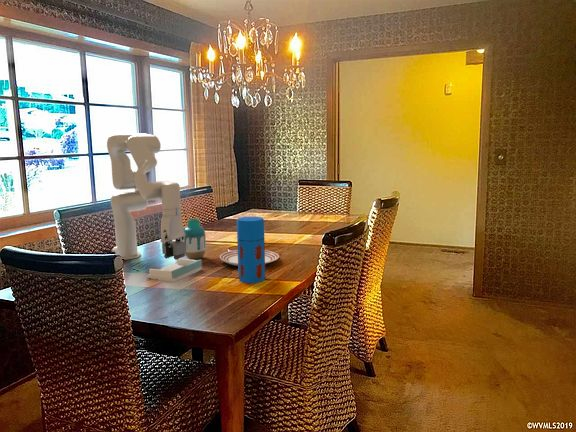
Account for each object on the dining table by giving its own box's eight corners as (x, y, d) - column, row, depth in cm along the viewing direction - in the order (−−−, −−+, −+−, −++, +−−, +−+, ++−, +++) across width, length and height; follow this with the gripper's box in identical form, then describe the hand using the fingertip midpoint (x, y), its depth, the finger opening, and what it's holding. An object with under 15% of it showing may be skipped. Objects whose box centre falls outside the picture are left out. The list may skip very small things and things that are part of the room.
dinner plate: (268, 252, 231) (268, 246, 230) (287, 266, 206) (287, 259, 205) (214, 258, 221) (213, 251, 221) (227, 273, 196) (227, 266, 195)
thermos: (265, 274, 192) (264, 216, 188) (265, 282, 182) (263, 220, 178) (239, 275, 192) (237, 216, 188) (237, 283, 182) (235, 221, 177)
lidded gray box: (162, 258, 193) (161, 237, 192) (171, 255, 198) (170, 234, 197) (178, 260, 190) (176, 238, 189) (186, 256, 195) (185, 236, 194)
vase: (184, 262, 214) (182, 221, 210) (183, 256, 224) (181, 218, 220) (207, 260, 216) (205, 220, 213) (205, 254, 226) (203, 216, 223)
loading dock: (147, 278, 190) (146, 267, 189) (176, 266, 207) (175, 256, 206) (174, 282, 184) (173, 271, 183) (201, 269, 201) (201, 259, 200)
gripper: (177, 209, 200) (180, 249, 203) (150, 215, 185) (153, 258, 188) (191, 209, 197) (193, 250, 200) (165, 216, 182) (168, 260, 185)
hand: (174, 254), depth 194 cm, fingers closed on lidded gray box, 5 cm apart
